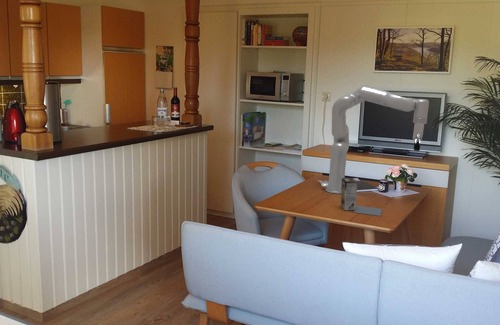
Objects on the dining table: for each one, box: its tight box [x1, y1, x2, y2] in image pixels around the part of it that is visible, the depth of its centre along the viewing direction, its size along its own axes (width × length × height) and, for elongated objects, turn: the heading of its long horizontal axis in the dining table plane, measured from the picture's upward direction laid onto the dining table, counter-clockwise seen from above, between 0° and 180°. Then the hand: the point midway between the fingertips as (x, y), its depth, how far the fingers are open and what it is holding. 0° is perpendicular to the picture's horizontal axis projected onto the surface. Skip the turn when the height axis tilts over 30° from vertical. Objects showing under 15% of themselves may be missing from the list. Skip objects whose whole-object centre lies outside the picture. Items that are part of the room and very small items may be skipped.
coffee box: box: [340, 177, 358, 211], centre depth 286 cm, size 9×6×16 cm
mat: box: [353, 205, 383, 217], centre depth 284 cm, size 14×14×1 cm
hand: (416, 149), depth 305 cm, fingers open, 9 cm apart
